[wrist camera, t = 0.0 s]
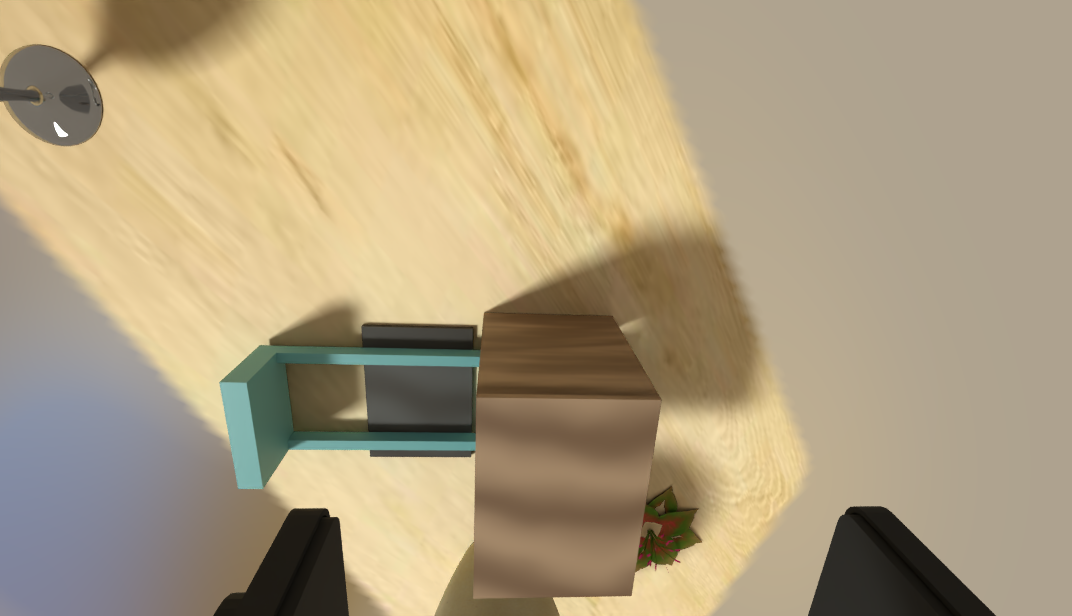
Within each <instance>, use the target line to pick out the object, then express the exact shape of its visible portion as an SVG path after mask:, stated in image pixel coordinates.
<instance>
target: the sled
mask: <svg viewBox="0 0 1072 616" xmlns="http://www.w3.org/2000/svg"><path fill="white" fill-rule="evenodd" d="M480 351H481V350H456V349H409V348H362V347H314V346H267V345H260V346H259V347H258V348H257V349H255V350H254V351H253V352H252V353H251V354H250V355H249V356H248V357H247V358H246V359H245V360H243V361H242V362H241V363H240V364H239V365H238V366H237V367H236V368H235V369H234V370H232V371H231V372H230V373H229V374H228V375H227V376H226V377H225V378H224V379H223V380H221V381H220V388H221V394H222V400H223V405H224V411H225V417H226V422H227V428H228V434H229V439H230V445H231V451H232V456H233V462H234V468H235V473H236V479H237V484H238V489H263V488H264V487H265V485H266V484H267V482H268V480H269V479H270V477H271V476H272V474H273V473H274V471H275V470H276V468H277V467H278V465H279V464H280V462H281V461H282V459H283V458H284V456H285V455H286V453H287V451H288V450H468V451H475V450H476V433H431V432H310V431H294V429H293V421H292V413H291V405H290V397H289V389H288V381H287V374H286V366H285V363H296V364H350V365H404V366H459V367H479V362H480Z"/></svg>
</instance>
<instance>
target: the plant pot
mask: <svg viewBox="0 0 1072 616" xmlns="http://www.w3.org/2000/svg"><path fill="white" fill-rule="evenodd" d="M473 584H474V543H473V544H472V545H471V546H470V547H469V548H468V550H467V551H466V553H465V554H464V556H463V558H462V560H461V561H460V563H459V565H458V567H457V568H456V570H455V572H454V574H453V576H452V578H451V580H450V582H449V584H448V586H447V588H446V590H445V592H444V595H443V597H442V599H441V601H440V604H439V606H438V608H437V611H436V613H435V616H560V615H559V613H558V610H557V608H556V605H555V602H554V600H553V598H552V597H542V598H484V599H473Z"/></svg>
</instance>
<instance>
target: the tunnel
mask: <svg viewBox="0 0 1072 616" xmlns="http://www.w3.org/2000/svg"><path fill="white" fill-rule="evenodd" d="M362 341H363V348H409V349H456V350H473V327H433V326H392V325H362ZM364 371H365V386H366V400H367V415H368V430H369V432H431V433H472V367H459V366H404V365H364ZM661 401H662V400H661V398H660V397H659V395H658V393H657V391H656V390H655V388H654V386H653V385H652V383H651V381H650V379H649V378H648V376H647V374H646V373H645V371H644V369H643V367H642V366H641V364H640V362H639V361H638V359H637V357H636V355H635V354H634V352H633V350H632V349H631V347H630V345H629V344H628V342H627V340H626V338H625V337H624V335H623V333H622V332H621V330H620V328H619V326H618V325H617V323H616V321H615V320H614V318H613V316H591V315H554V314H517V313H484V318H483V329H482V340H481V351H480V362H479V373H478V384H477V395H476V450H475V517H474V584H473V599H484V598H542V597H599V596H631V595H632V589H633V582H634V576H635V569H636V563H637V556H638V550H639V543H640V537H641V530H642V524H643V517H644V511H645V505H646V498H647V492H648V485H649V479H650V472H651V466H652V459H653V453H654V446H655V440H656V433H657V427H658V420H659V414H660V407H661ZM370 457H471V451H468V450H370Z"/></svg>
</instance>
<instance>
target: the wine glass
mask: <svg viewBox="0 0 1072 616" xmlns="http://www.w3.org/2000/svg"><path fill="white" fill-rule="evenodd" d="M0 102H3V103H4V105H5V107H6V108H7V110H8V112H9V113H10V115H11V116H12V118H13V119H14V120H15V121H16V122H17V123H18V124H19V125H20V126H21V127H22V128H23V129H24V130H25V131H27V132H28V133H29V134H31V135H32V136H34V137H36V138H38V139H40V140H42V141H44V142H46V143H50V144H53V145H58V146H74V145H79V144H81V143H84V142H86V141H87V140H89V139H90V138H91V137H92V136H93V135H94V134H95V133H96V132H97V130H98V128H99V126H100V123H101V120H102V112H103V109H102V101H101V97H100V93H99V91H98V88H97V86H96V84H95V82H94V81H93V79H92V78H91V76H90V75H89V73H88V72H87V71H86V70H85V69H84V67H83V66H81V65H80V64H79V63H78V62H77V61H76V60H75V59H73V58H72V57H70V56H69V55H68V54H66V53H64V52H62V51H60V50H58V49H55V48H52V47H49V46H43V45H28V46H23V47H20V48H18V49H16V50H14V51H13V52H12V53H10V54H9V55H8V56H7V57H6V59H5V60H4V61H3V63H2V66H1V68H0Z"/></svg>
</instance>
